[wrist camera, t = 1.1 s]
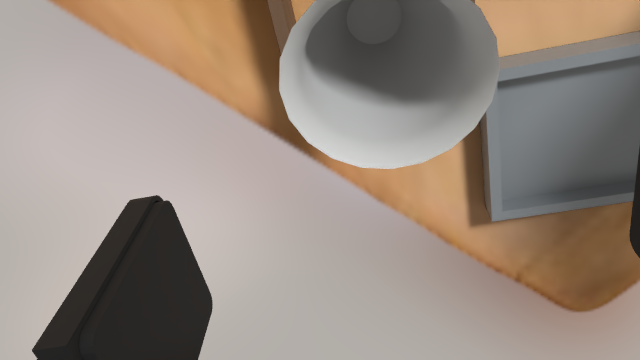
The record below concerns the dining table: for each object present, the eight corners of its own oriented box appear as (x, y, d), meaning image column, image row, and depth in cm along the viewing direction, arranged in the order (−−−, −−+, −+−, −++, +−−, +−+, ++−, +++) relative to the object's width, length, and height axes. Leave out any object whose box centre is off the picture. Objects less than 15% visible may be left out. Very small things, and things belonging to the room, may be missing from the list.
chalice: (424, -83, 30) (507, -43, 15) (425, 31, 34) (493, 161, 18) (302, -69, 31) (262, -15, 16) (315, 42, 34) (292, 176, 19)
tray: (698, 19, 33) (720, 28, 31) (673, 177, 39) (690, 192, 37) (476, 61, 35) (484, 72, 33) (485, 205, 41) (492, 221, 39)
